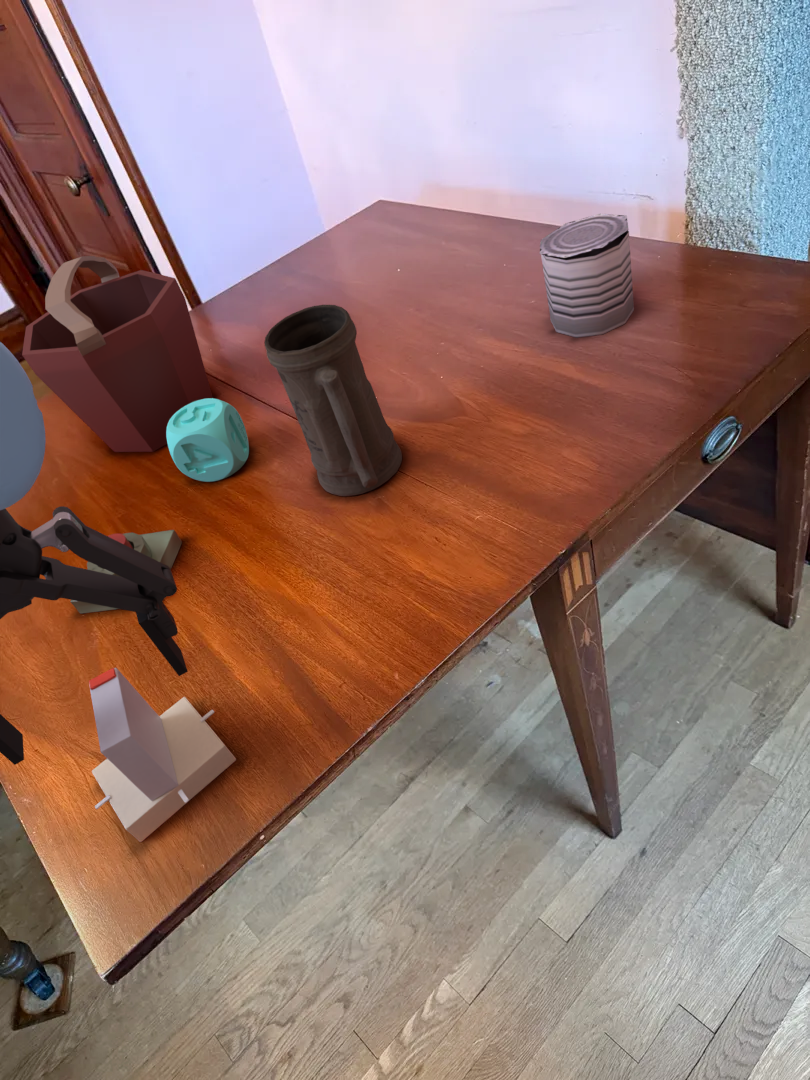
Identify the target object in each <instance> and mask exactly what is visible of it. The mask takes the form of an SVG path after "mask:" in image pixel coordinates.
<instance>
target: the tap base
mask: <svg viewBox="0 0 810 1080" xmlns="http://www.w3.org/2000/svg"><path fill="white" fill-rule="evenodd" d="M213 714H215V710H214V709H211V710H209V711H208V712H207V713H206V714H204V715H203V716H202V715H201V714H200V713H199V711H198V710H197V709H196V708H195V707H194V706H193V705H192V703H191V702H190V701H189V700H188V698H187V697H186V696H183V697H182V698H180V699H179V700H177V702H175V703H174V704H173V705H171V707H169V708H168V709H166V710H165V711H164V712H163V713H162V714H160V715H159V717H160V718H161V720H162V724H163V728H164V732H165V735H166V739H167V743H168V747H169V751H170V755H171V759H172V762H173V766H174V770H175V774H176V778H177V782H178V786H177V787H176V788H174V789H172V790H170V791H169V792H167V793H165V794H163V795H162V796H160V797H158V798H156V799H155V800H153V801H151V800H150V799H149V798H148V797H147V796H146V795H145V794H144V793H143V792H142V791H140V790H139V789H138V788H137V787H136V786H135V785H134V784H133V783H132V782H131V781H130V780H129V779H128V778H127V777H126V776H125V775H124V774H123V773H122V772H121V771H120V770H119V769H118V768H117V767H116V766H115V765H114V764H112V763H111V762H110V761H109V760H108V759H107V758H106V759H104V760H103V761H102V762H100V764H98V765H97V766H96V767H94V768H93V769H92V770H91V773H92V775H93V777H94V779H95V781H96V782H97V783H98V785H99V787H100V789H101V790H102V793H103V794H104V795H105V797H104V798H102V800H100V801H99V802H98V803H96V804H95V805H94V808H95V810H98V809H100V808H101V807H103V805H104V804H106V803H107V802H109V804H110V805H111V807H112V809H113V811H114V812H115V814H116V816H117V817H118V819H119V821H120V822H121V824H122V826H123V827H124V830H126V832H128V833H129V834H130V835H131V836H132V837H134V838H135V839H136V840H137V841H138V842H139V843H142V842H143V841H145V839H147V838H148V837H149V836H151V834H153V832H154V831H156V830H157V829H159V828H160V826H161V825H163V824H164V823H165V822H167V820H169V819H170V818H171V817H172V816H173V815H174V814H176V813H177V812H178V811H179V810H180V809H181V808H183V807H184V806H185V805H186V804H187V803H189V802H190V801H191V799H193V798H194V797H195V796H196V795H198V794H199V793H200V792H201V791H202V790H203V789H204V788H206V787H207V786H208V785H209V784H210V783H211V782H212V781H214V780H215V779H217V777H219V775H221V774H222V773H223V772H224V771H226V769H228V768H229V767H230V766H232V764H234V763H235V762H236V761H237V758H236V756H235V755H234V754H233V753H232V752H231V751H230V750H229V748H228V747H227V745H225V743H224V742H223V741H222V739H220V737H219V736H218V735H217V734H216V732H215V731H214V730H213V728H212V727H211V726H210V725H209V724H208V723H207V721H206V720H207V719H208V718H210V717H211V716H213Z"/></svg>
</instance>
